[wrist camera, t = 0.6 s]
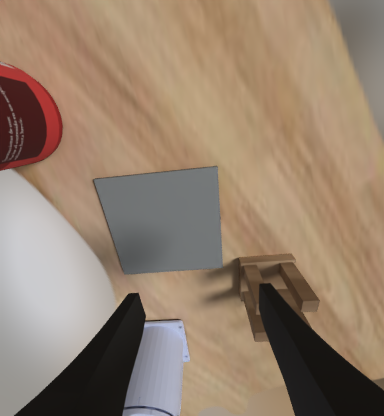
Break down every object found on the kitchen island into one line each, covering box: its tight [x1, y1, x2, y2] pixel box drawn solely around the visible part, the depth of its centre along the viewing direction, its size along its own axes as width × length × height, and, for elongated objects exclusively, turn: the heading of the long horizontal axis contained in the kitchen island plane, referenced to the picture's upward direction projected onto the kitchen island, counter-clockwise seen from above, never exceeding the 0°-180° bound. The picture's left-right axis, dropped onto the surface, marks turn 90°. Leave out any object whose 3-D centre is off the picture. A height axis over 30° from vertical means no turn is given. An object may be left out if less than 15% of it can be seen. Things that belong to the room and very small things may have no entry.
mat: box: [94, 166, 223, 274], centre depth 20 cm, size 12×12×1 cm
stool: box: [239, 254, 320, 342], centre depth 20 cm, size 6×6×6 cm
